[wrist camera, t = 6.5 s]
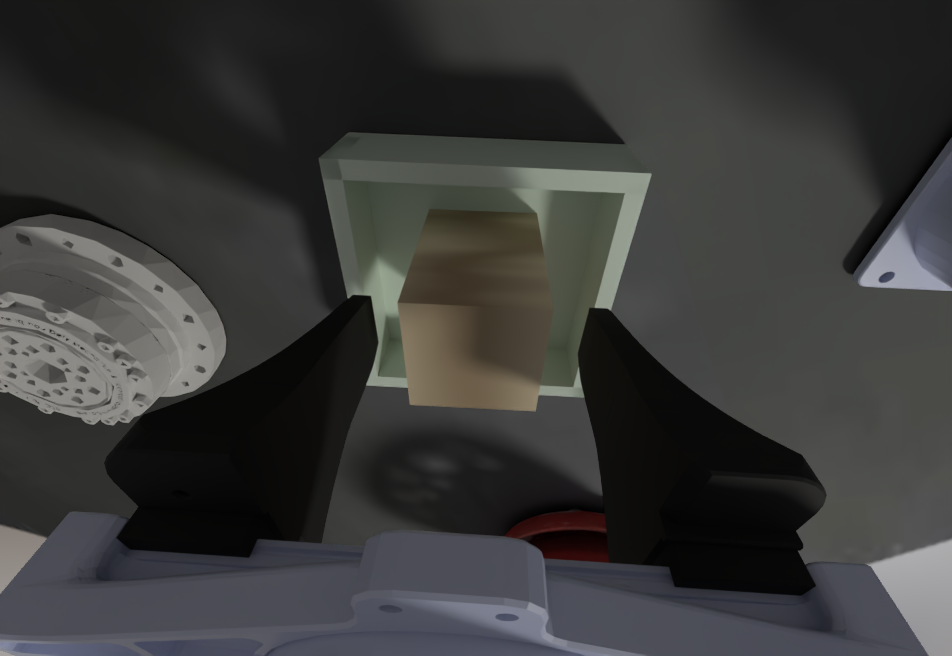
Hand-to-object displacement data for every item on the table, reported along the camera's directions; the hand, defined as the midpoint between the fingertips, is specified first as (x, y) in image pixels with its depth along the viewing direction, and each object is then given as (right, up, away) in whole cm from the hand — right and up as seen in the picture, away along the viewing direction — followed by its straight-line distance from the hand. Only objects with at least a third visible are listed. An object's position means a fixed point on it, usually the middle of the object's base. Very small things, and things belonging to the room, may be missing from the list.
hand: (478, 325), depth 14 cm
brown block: (0, +3, +3) cm, 4 cm away
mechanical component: (-17, +1, +6) cm, 19 cm away
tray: (0, +3, +3) cm, 4 cm away
